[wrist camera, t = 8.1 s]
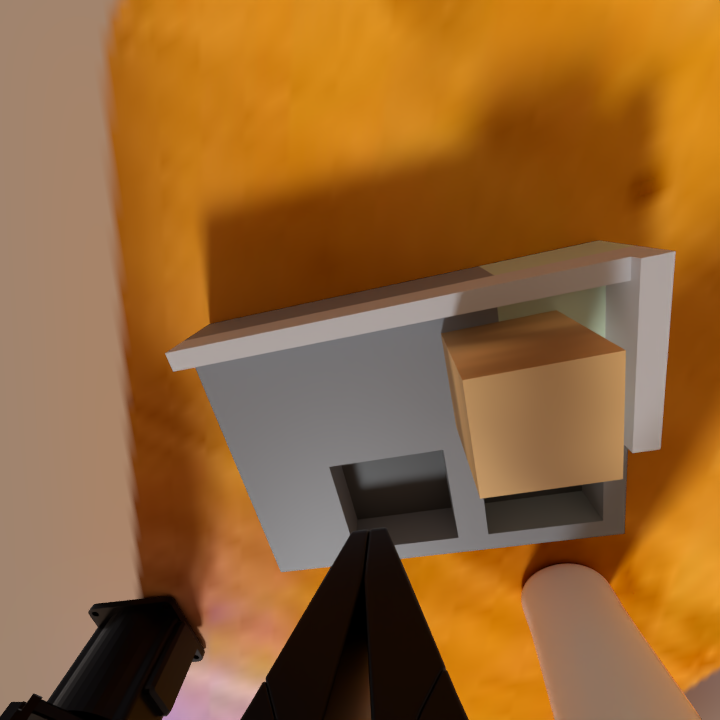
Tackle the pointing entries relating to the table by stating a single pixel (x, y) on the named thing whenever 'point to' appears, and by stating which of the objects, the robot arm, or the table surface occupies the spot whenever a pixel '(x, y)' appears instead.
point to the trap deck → (419, 403)
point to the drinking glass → (596, 651)
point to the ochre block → (537, 403)
